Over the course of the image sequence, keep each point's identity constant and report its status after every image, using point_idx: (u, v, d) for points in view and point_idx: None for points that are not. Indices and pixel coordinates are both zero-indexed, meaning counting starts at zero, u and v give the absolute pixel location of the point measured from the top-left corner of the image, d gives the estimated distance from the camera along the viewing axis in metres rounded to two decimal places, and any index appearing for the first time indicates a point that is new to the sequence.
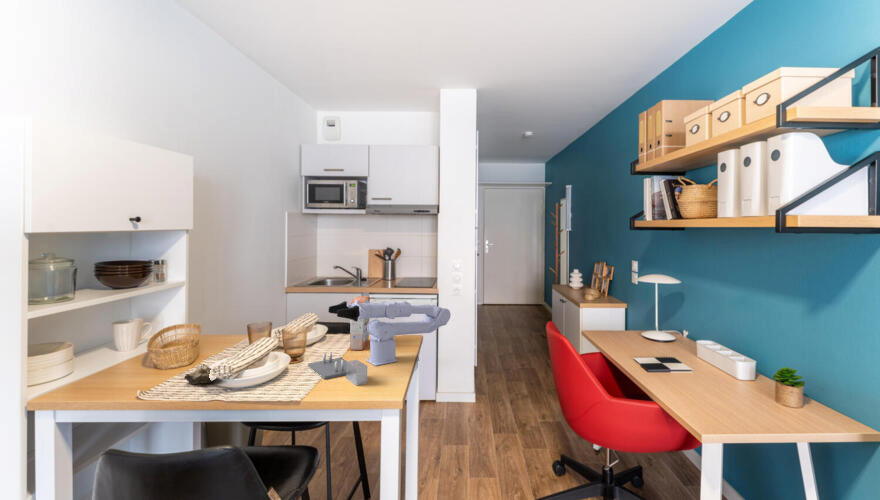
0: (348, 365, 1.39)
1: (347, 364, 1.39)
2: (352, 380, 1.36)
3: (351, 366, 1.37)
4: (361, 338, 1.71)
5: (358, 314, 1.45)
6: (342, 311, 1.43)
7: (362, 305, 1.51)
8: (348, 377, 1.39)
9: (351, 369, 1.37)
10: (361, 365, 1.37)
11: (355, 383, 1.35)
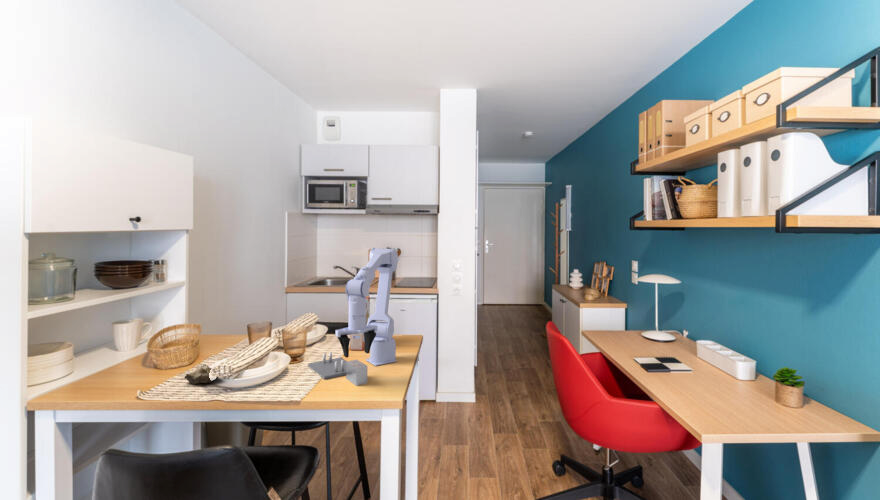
0: (348, 365, 1.39)
1: (347, 364, 1.39)
2: (352, 380, 1.36)
3: (351, 366, 1.37)
4: (361, 338, 1.71)
5: None
6: None
7: (364, 324, 1.37)
8: (348, 377, 1.39)
9: (351, 369, 1.37)
10: (361, 365, 1.37)
11: (355, 383, 1.35)
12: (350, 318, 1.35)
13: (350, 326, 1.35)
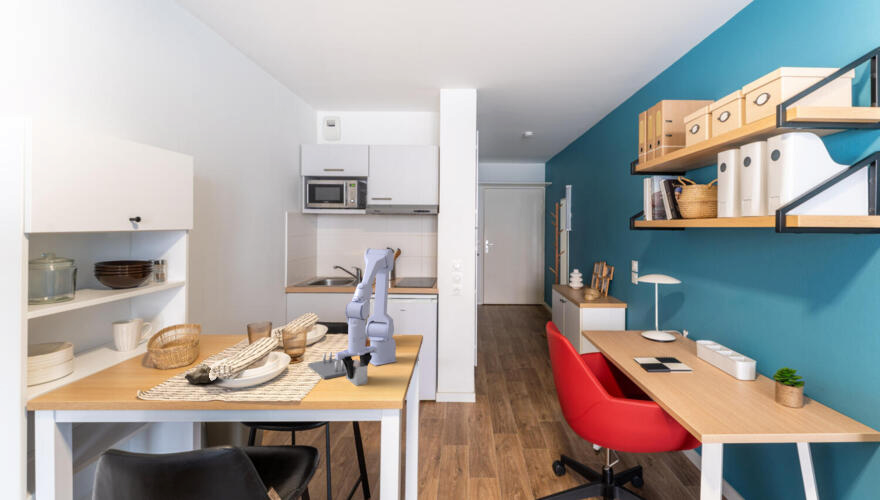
0: None
1: None
2: (352, 379, 1.36)
3: None
4: None
5: None
6: None
7: (364, 347, 1.37)
8: None
9: None
10: (361, 365, 1.37)
11: (355, 383, 1.35)
12: (350, 341, 1.36)
13: (350, 349, 1.36)
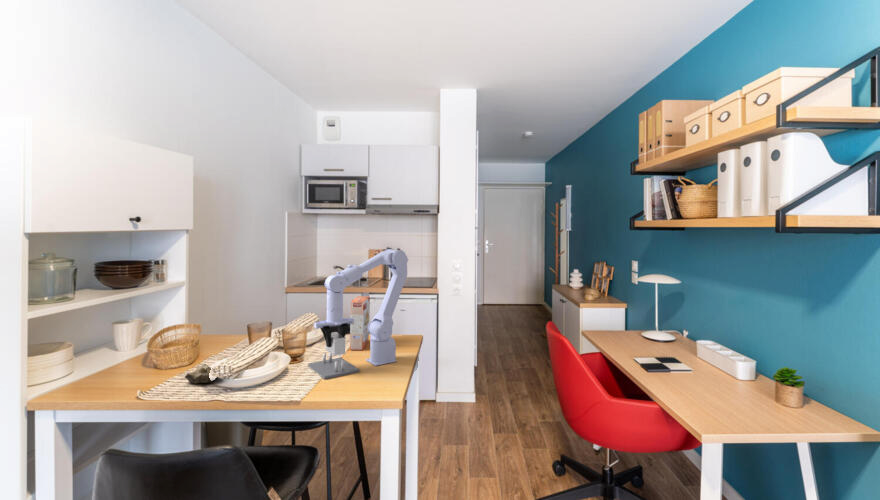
0: None
1: None
2: (331, 350, 1.46)
3: None
4: (361, 338, 1.71)
5: None
6: None
7: (341, 317, 1.47)
8: (327, 348, 1.48)
9: None
10: (339, 337, 1.46)
11: (333, 353, 1.44)
12: (328, 311, 1.45)
13: (328, 319, 1.45)
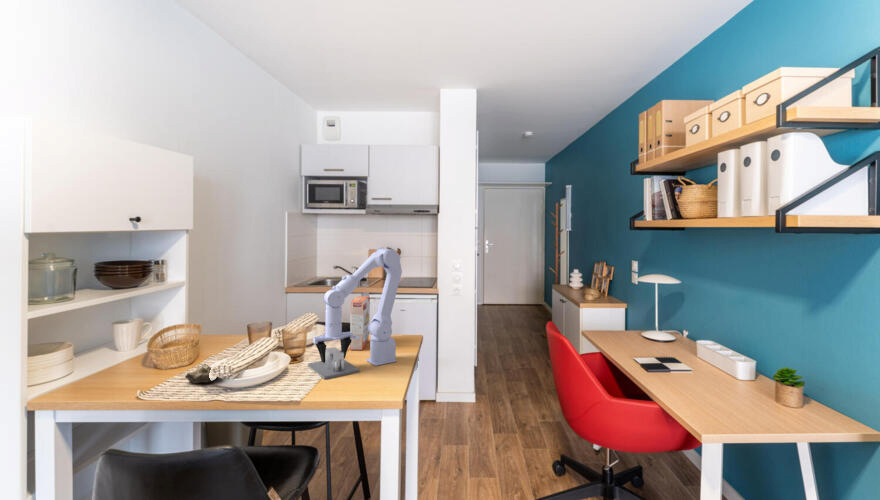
0: (326, 352, 1.49)
1: None
2: (329, 365, 1.47)
3: (329, 353, 1.47)
4: (361, 338, 1.71)
5: None
6: None
7: (340, 332, 1.48)
8: (326, 363, 1.49)
9: (329, 355, 1.47)
10: (338, 352, 1.47)
11: (332, 368, 1.45)
12: (327, 326, 1.46)
13: (327, 333, 1.46)
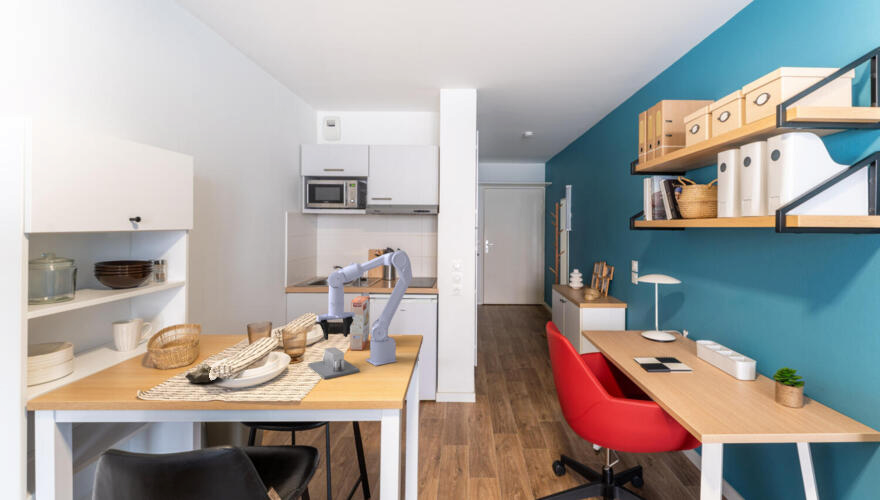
0: (326, 352, 1.49)
1: (325, 351, 1.50)
2: (329, 365, 1.47)
3: (329, 353, 1.47)
4: (361, 338, 1.71)
5: None
6: None
7: (342, 311, 1.55)
8: (326, 363, 1.49)
9: (329, 355, 1.47)
10: (338, 352, 1.47)
11: (332, 368, 1.45)
12: (329, 305, 1.54)
13: (329, 312, 1.54)
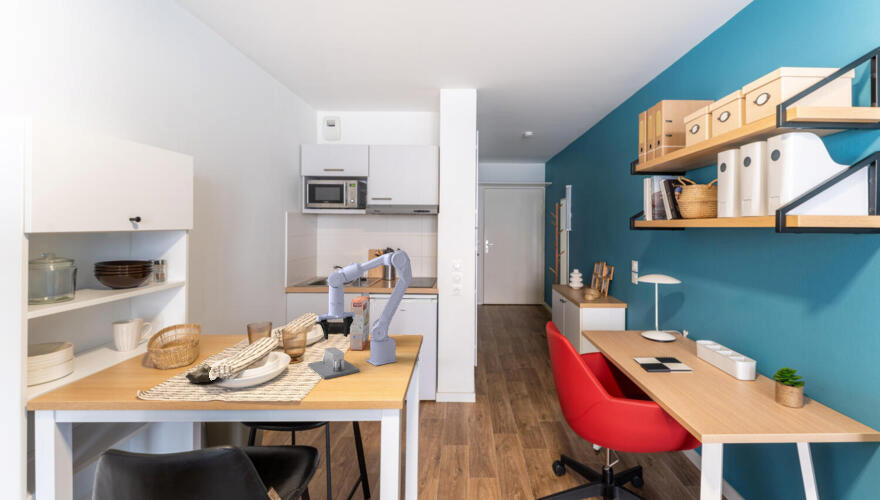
0: (326, 352, 1.49)
1: (325, 351, 1.50)
2: (329, 365, 1.47)
3: (329, 353, 1.47)
4: (361, 338, 1.71)
5: None
6: None
7: (342, 311, 1.55)
8: (326, 363, 1.49)
9: (329, 355, 1.47)
10: (338, 352, 1.47)
11: (332, 368, 1.45)
12: (330, 305, 1.54)
13: (330, 312, 1.54)
